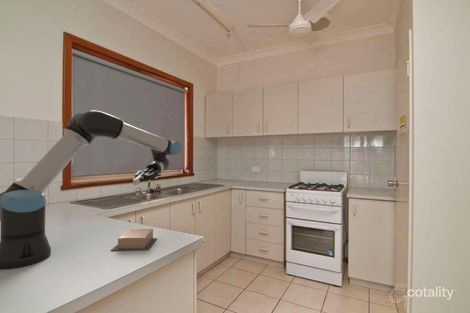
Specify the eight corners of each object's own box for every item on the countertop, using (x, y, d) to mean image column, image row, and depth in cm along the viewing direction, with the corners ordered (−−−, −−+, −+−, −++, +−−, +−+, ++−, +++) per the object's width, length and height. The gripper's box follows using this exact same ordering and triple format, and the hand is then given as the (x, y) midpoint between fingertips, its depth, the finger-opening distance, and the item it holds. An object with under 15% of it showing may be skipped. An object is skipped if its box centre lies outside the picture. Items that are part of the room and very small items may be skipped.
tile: (152, 237, 105) (144, 248, 93) (129, 238, 104) (117, 248, 92) (153, 228, 105) (144, 237, 93) (129, 228, 104) (118, 238, 92)
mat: (148, 250, 91) (148, 249, 91) (110, 251, 91) (110, 250, 91) (157, 238, 104) (157, 238, 104) (124, 239, 103) (124, 238, 103)
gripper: (166, 175, 135) (148, 190, 112) (144, 175, 136) (122, 189, 113) (165, 162, 133) (147, 175, 110) (143, 162, 134) (120, 174, 111)
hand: (134, 182), depth 112 cm, fingers closed
